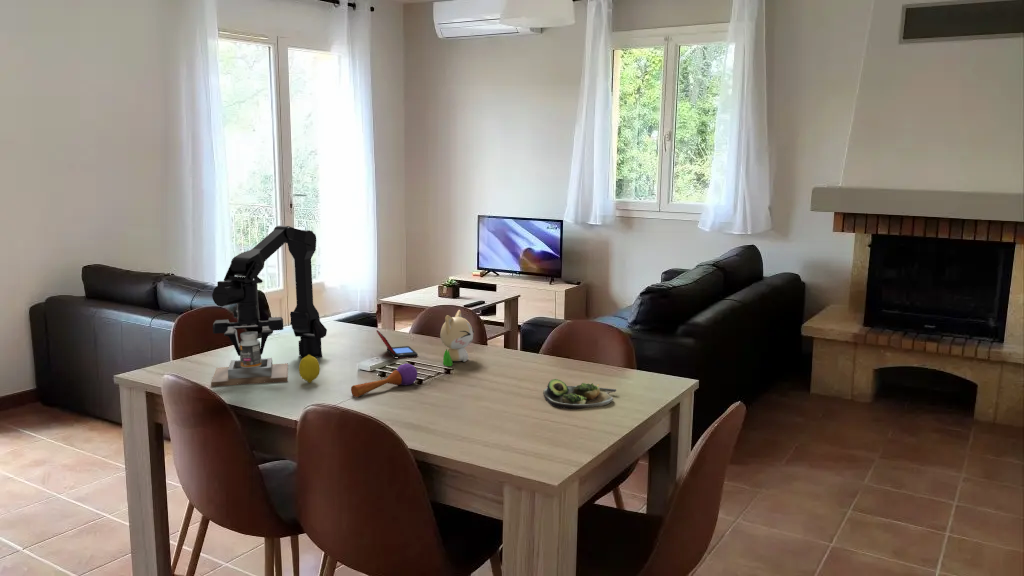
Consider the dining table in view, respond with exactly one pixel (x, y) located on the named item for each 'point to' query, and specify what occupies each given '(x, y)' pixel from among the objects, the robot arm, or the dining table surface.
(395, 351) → the handheld game console
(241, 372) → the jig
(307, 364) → the lemon
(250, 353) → the pill bottle
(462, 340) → the kitten
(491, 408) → the dining table surface
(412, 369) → the purple and orange maraca
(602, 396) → the salad plate
